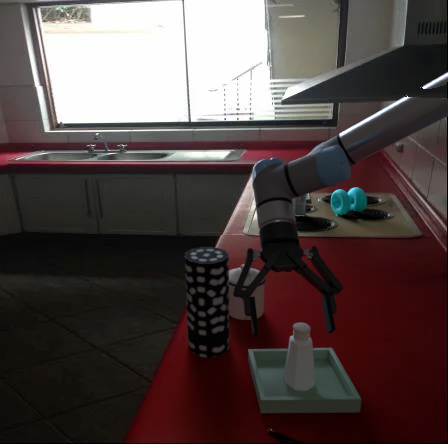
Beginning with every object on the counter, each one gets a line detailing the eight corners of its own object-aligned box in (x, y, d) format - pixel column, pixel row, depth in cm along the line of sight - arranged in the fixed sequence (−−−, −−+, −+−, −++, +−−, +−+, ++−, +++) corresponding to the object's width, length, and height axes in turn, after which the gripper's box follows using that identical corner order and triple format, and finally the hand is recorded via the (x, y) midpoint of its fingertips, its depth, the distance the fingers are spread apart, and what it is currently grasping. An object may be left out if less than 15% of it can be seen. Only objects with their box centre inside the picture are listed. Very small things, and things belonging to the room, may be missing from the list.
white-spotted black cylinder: (195, 331, 91) (192, 245, 84) (233, 337, 87) (232, 249, 81) (182, 353, 83) (178, 261, 77) (223, 361, 80) (222, 265, 74)
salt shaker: (310, 395, 69) (314, 338, 66) (278, 385, 72) (280, 329, 69) (318, 376, 74) (322, 322, 70) (287, 367, 76) (290, 314, 73)
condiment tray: (331, 359, 79) (332, 347, 78) (360, 412, 66) (361, 399, 65) (247, 360, 80) (248, 349, 79) (260, 413, 67) (260, 400, 66)
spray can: (296, 211, 169) (298, 162, 163) (309, 215, 163) (312, 164, 157) (284, 214, 166) (286, 164, 160) (297, 218, 160) (299, 166, 154)
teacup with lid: (270, 307, 98) (272, 262, 95) (255, 325, 91) (255, 277, 88) (225, 295, 105) (224, 252, 101) (207, 311, 98) (206, 266, 95)
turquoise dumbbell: (367, 215, 158) (369, 190, 155) (343, 218, 157) (345, 192, 154) (350, 208, 168) (352, 184, 165) (328, 211, 166) (329, 187, 163)
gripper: (334, 233, 88) (356, 335, 78) (215, 237, 90) (223, 338, 80) (345, 216, 81) (371, 325, 72) (217, 222, 83) (225, 329, 73)
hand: (293, 332), depth 76 cm, fingers open, 13 cm apart
